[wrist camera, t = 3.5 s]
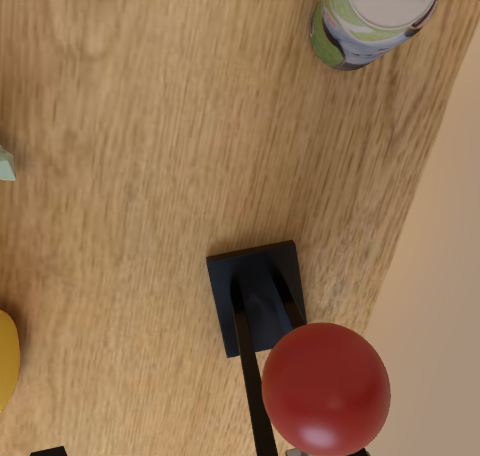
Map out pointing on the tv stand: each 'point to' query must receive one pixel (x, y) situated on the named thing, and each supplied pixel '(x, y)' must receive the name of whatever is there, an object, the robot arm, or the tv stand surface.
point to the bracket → (258, 316)
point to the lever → (325, 390)
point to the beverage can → (364, 29)
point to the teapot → (8, 358)
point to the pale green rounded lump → (6, 165)
